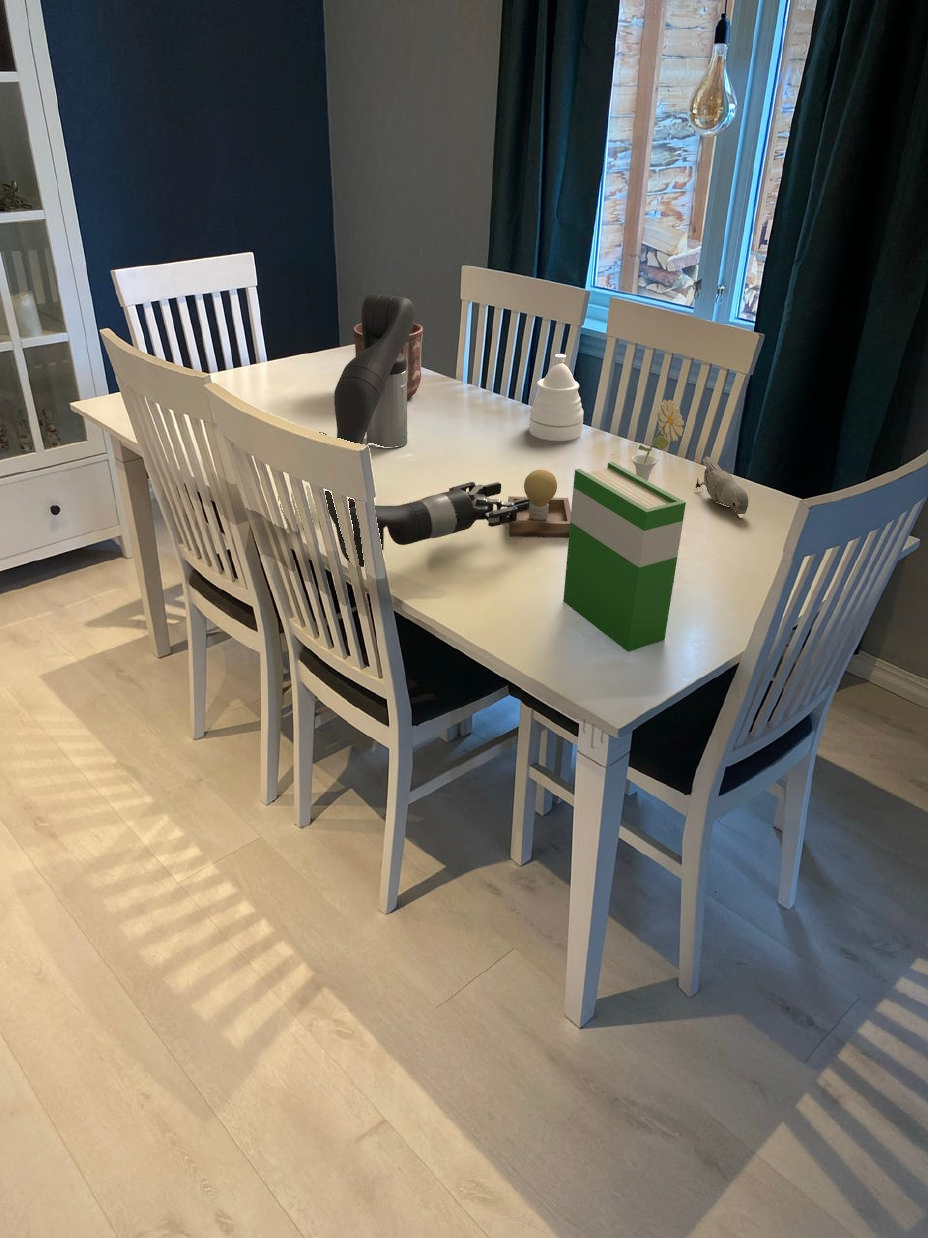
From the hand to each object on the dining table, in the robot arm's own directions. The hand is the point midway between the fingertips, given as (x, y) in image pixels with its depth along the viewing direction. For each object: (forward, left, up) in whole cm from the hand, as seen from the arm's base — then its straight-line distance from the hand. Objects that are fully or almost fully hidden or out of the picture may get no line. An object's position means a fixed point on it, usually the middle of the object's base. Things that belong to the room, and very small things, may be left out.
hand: (513, 495), depth 182 cm
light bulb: (+5, +5, -7) cm, 10 cm away
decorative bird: (+44, +16, -8) cm, 48 cm away
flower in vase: (+26, +6, -8) cm, 27 cm away
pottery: (-29, +80, -8) cm, 85 cm away
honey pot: (+13, +57, -8) cm, 59 cm away
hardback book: (+16, -31, -8) cm, 36 cm away
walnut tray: (+6, +5, -8) cm, 11 cm away
